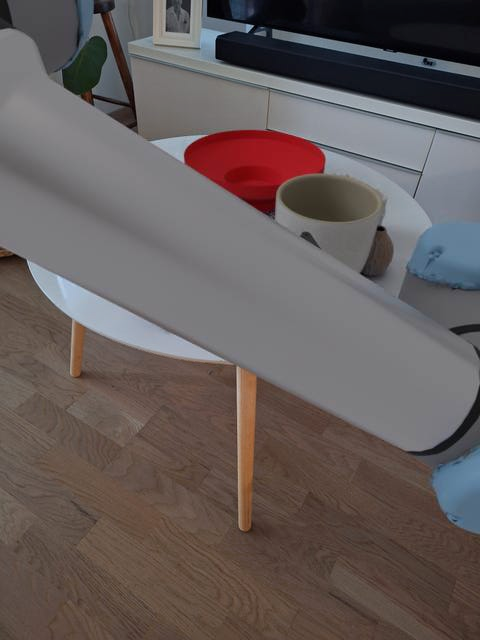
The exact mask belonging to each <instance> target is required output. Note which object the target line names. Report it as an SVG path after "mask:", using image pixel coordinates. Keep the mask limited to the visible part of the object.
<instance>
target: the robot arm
mask: <svg viewBox="0 0 480 640" xmlns="http://www.w3.org/2000/svg"><path fill="white" fill-rule="evenodd" d="M94 3H95V2H94V0H0V248H3V249H5V250H7V251H9V252H11V253H13V254H15V255H17V256H18V257H21V258H22V259H25V260H27V261H29V262H30V263H32V264H34V265H36V266H38V267H40V268H42V269H44V270H46V271H48V272H50V273H53V274H54V275H57V276H58V277H60V278H62V279H64V280H66V281H67V282H71V283H72V284H74V285H76V286H77V287H79V288H81V289H83V290H86V291H87V292H89V293H91V294H93V295H96V296H98V297H99V298H102V299H104V300H106V301H108V302H109V303H112V304H113V305H115V306H117V307H120V308H121V309H123V310H126V311H127V312H129V313H132V314H133V315H135V316H136V317H139V318H142V319H143V320H146V321H147V322H149V323H151V324H152V325H155V326H157V327H159V328H161V329H163V330H165V331H167V332H169V333H171V334H172V335H175V336H177V337H179V338H181V339H183V340H185V341H187V342H189V343H190V344H193V345H194V346H196V347H198V348H201V349H203V350H204V351H206V352H208V353H211V354H212V355H215V356H217V357H218V358H220V359H222V360H224V361H226V362H229V363H230V364H232V365H235V366H236V367H238V368H240V369H241V370H244V371H246V372H248V373H250V374H252V375H254V376H256V377H258V378H260V379H262V380H264V381H266V382H268V383H270V384H271V385H273V386H275V387H277V388H280V389H281V390H284V391H286V392H287V393H289V394H291V395H293V396H296V397H298V398H299V399H302V400H303V401H305V402H307V403H309V404H311V405H313V406H315V407H317V408H319V409H321V410H323V411H325V412H327V413H329V414H331V415H333V416H335V417H337V418H339V419H341V420H343V421H344V422H347V423H349V424H351V425H353V426H354V427H356V428H359V429H360V430H363V431H364V432H366V433H368V434H371V435H373V436H374V437H376V438H378V439H381V440H383V441H384V442H386V443H388V444H390V445H392V446H394V447H395V448H397V449H398V450H400V451H402V452H403V453H406V454H408V455H410V456H411V457H413V458H415V459H417V460H419V461H421V462H423V463H425V464H426V465H427V466H428V467H429V469H430V471H431V472H430V473H431V475H430V478H429V482H430V483H429V484H430V485H431V487H432V488H433V489H434V492H435V495H436V499H437V501H438V505H439V507H440V510H441V511H442V512H443V513H444V515H446V517H447V519H448V520H449V521H450V522H451V523H452V524H454V525H455V526H457V527H459V528H461V529H463V530H465V531H468V532H470V533H474V534H477V535H480V223H476V222H472V221H471V222H470V221H458V220H454V221H453V220H451V221H444V222H439V223H437V224H434V225H432V226H430V227H428V228H427V229H425V231H424V232H423V233H422V234H421V235H420V237H419V238H418V241H417V242H416V245H415V248H414V249H413V252H412V255H411V257H410V259H409V261H408V262H407V263H406V265H405V269H406V271H405V274H404V277H403V280H402V283H401V287H400V290H399V293H398V296H395V295H394V294H392V293H391V292H389V291H387V290H386V289H385V288H383V287H381V286H380V285H378V284H376V282H373V281H372V280H370V279H369V278H367V277H365V276H364V275H362V273H360V274H359V273H357V272H356V271H354V270H353V269H351V268H349V267H348V266H346V265H345V264H343V263H342V262H340V261H338V260H337V259H335V258H334V257H332V256H330V255H329V254H327V253H326V252H324V251H322V249H321V248H320V246H319V245H318V244H317V242H316V241H315V239H314V238H313V236H312V235H311V234H310V233H309V232H307V231H304V232H302V233H301V235H300V236H299V235H297V234H295V233H294V232H292V231H291V230H289V229H287V228H286V227H284V226H283V225H281V224H279V223H278V222H276V221H275V219H273V218H272V217H271V216H268V215H267V214H266V213H265V212H260V211H259V210H257V209H256V208H254V207H252V206H251V205H249V204H248V203H246V202H245V201H243V200H241V199H240V198H238V197H237V196H235V195H233V194H232V193H230V192H229V191H227V190H225V189H224V188H222V187H221V186H219V185H218V184H216V183H214V182H213V181H211V180H210V179H208V178H206V177H205V176H203V175H202V174H200V173H198V172H197V171H195V170H194V169H192V168H191V167H189V166H187V165H186V164H184V161H183V162H182V161H181V160H179V159H178V158H176V157H175V156H173V155H171V154H170V153H168V152H167V151H166V150H165V149H162V148H160V147H159V146H158V145H155V144H154V143H153V142H151V141H149V140H147V139H146V138H145V137H143V136H141V135H140V134H138V133H137V132H135V131H133V130H132V129H130V128H129V127H127V126H125V125H124V124H122V123H121V122H119V121H118V120H116V119H114V118H113V117H112V116H109V115H108V114H106V113H105V112H103V111H102V110H100V109H98V108H97V107H95V106H94V105H92V104H91V103H88V101H85V100H84V99H83V98H82V97H79V96H78V95H76V94H75V93H73V92H72V91H70V90H69V89H67V88H65V87H64V86H62V85H61V84H59V83H58V82H55V81H54V80H53V79H51V78H50V75H51V74H54V73H58V72H60V71H62V70H64V69H66V68H68V67H70V65H72V63H73V62H74V61H75V60H76V59H77V57H78V56H79V53H80V52H81V51H82V49H83V48H84V46H85V45H86V43H87V42H88V41H87V40H88V38H89V36H90V33H91V30H92V25H93V20H94V8H95V6H94Z"/></svg>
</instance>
